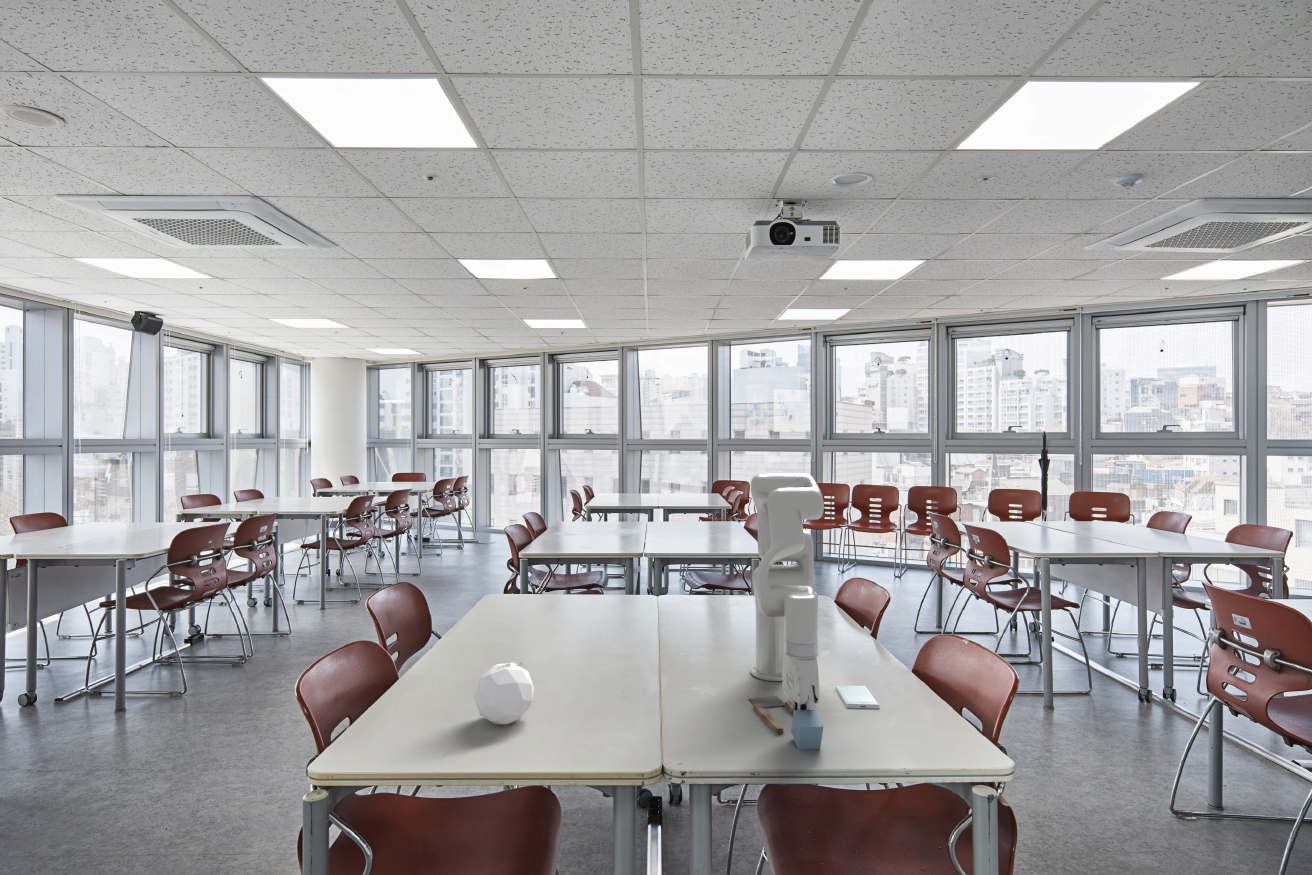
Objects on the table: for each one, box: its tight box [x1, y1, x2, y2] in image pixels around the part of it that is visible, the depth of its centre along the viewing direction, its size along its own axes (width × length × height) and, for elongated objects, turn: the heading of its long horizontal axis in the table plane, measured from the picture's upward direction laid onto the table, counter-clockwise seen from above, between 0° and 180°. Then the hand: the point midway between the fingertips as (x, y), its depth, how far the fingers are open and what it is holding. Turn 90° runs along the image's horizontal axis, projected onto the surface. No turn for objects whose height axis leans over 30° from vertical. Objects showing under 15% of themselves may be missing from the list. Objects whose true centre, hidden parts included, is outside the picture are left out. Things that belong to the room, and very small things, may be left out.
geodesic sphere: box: [473, 661, 535, 725], centre depth 149 cm, size 15×14×14 cm
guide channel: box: [747, 695, 794, 735], centre depth 152 cm, size 20×10×1 cm, turn 13°
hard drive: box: [835, 685, 880, 710], centre depth 162 cm, size 2×8×12 cm
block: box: [791, 709, 824, 751], centre depth 135 cm, size 5×5×6 cm
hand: (801, 728), depth 140 cm, fingers closed
